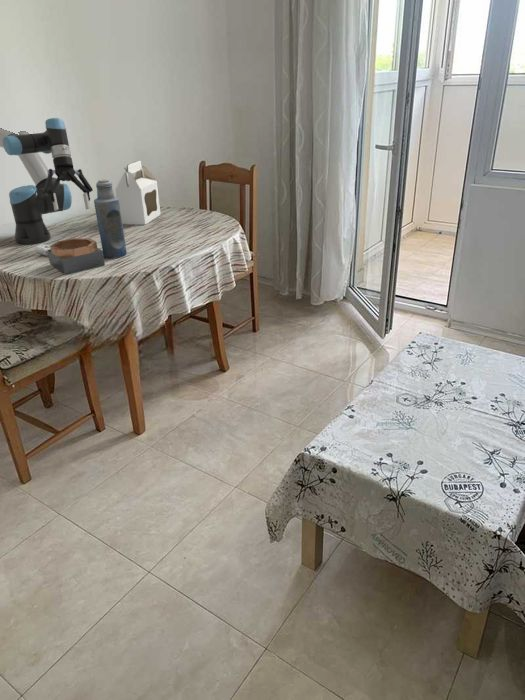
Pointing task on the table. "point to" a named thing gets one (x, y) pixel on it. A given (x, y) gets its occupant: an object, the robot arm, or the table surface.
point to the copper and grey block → (75, 255)
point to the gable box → (138, 195)
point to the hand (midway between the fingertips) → (72, 209)
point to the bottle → (109, 221)
